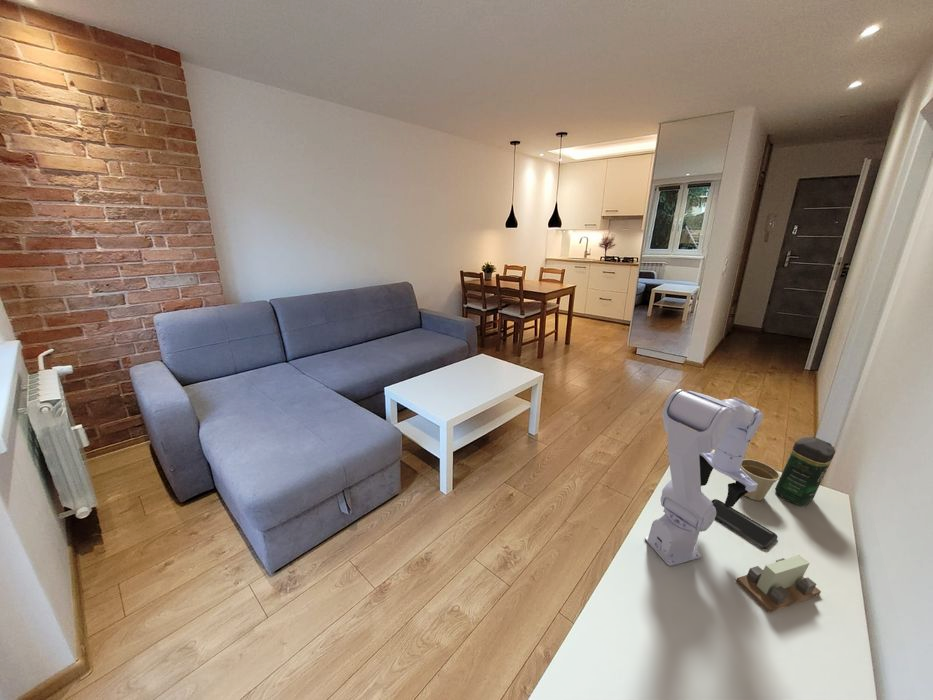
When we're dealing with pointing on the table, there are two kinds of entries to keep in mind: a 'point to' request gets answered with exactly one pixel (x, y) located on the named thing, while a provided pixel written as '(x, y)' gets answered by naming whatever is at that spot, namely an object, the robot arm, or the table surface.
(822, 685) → the table surface
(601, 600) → the table surface
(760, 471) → the flower pot
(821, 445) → the coffee jar
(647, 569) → the table surface
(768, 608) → the rail
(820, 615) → the table surface
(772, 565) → the door panel
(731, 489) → the robot arm
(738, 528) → the phone
